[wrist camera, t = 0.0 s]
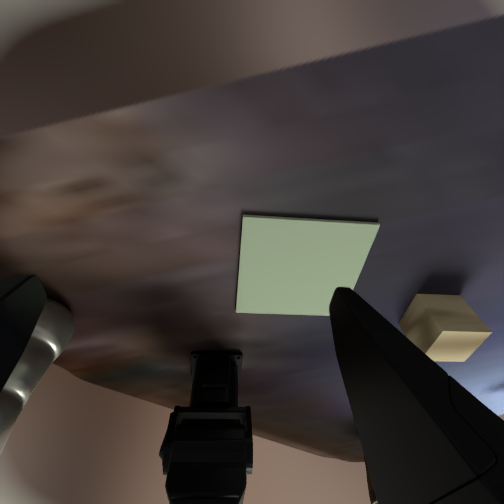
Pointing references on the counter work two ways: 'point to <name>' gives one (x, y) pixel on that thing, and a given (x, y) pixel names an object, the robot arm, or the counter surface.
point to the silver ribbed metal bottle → (34, 363)
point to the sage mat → (298, 262)
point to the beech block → (443, 327)
